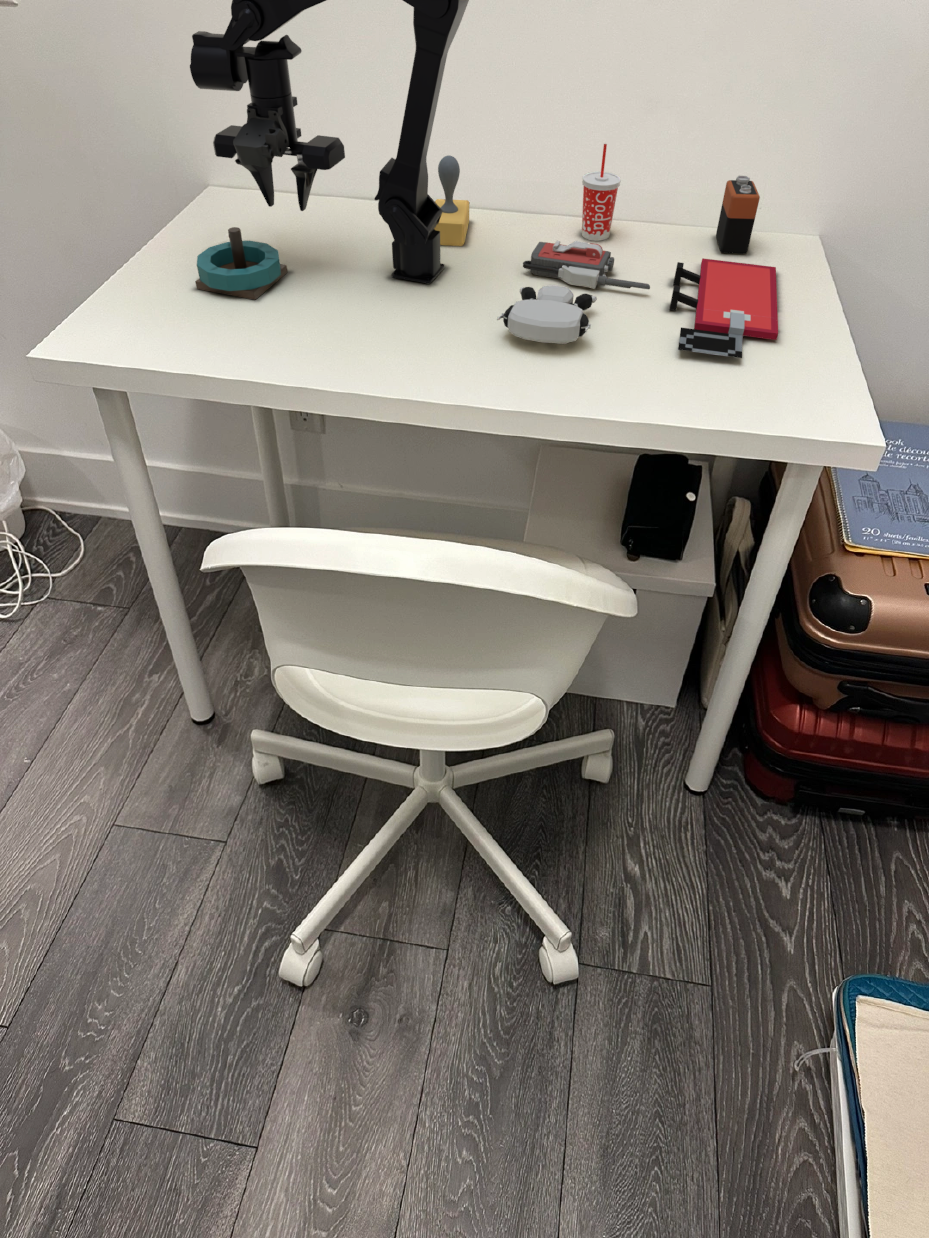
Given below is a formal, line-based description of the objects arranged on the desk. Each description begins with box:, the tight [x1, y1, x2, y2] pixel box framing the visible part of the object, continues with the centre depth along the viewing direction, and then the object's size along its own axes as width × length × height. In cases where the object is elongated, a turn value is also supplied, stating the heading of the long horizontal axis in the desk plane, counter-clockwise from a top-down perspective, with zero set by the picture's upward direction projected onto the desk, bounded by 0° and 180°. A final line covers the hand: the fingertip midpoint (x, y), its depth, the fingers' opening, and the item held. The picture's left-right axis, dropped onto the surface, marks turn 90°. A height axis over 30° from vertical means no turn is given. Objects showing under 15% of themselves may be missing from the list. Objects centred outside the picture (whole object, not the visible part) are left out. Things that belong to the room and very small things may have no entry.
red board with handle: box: [669, 257, 779, 359], centre depth 129 cm, size 30×3×15 cm
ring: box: [196, 240, 281, 291], centre depth 134 cm, size 12×12×2 cm
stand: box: [195, 226, 289, 301], centre depth 133 cm, size 10×10×8 cm
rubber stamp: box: [434, 154, 470, 247], centre depth 145 cm, size 10×6×12 cm, turn 175°
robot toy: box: [496, 284, 598, 345], centre depth 124 cm, size 12×4×15 cm
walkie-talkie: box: [522, 240, 651, 290], centre depth 136 cm, size 9×4×20 cm
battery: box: [715, 175, 761, 255], centre depth 142 cm, size 4×7×10 cm, turn 176°
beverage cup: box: [581, 143, 622, 242], centre depth 144 cm, size 6×6×14 cm
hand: (287, 208), depth 136 cm, fingers open, 5 cm apart
